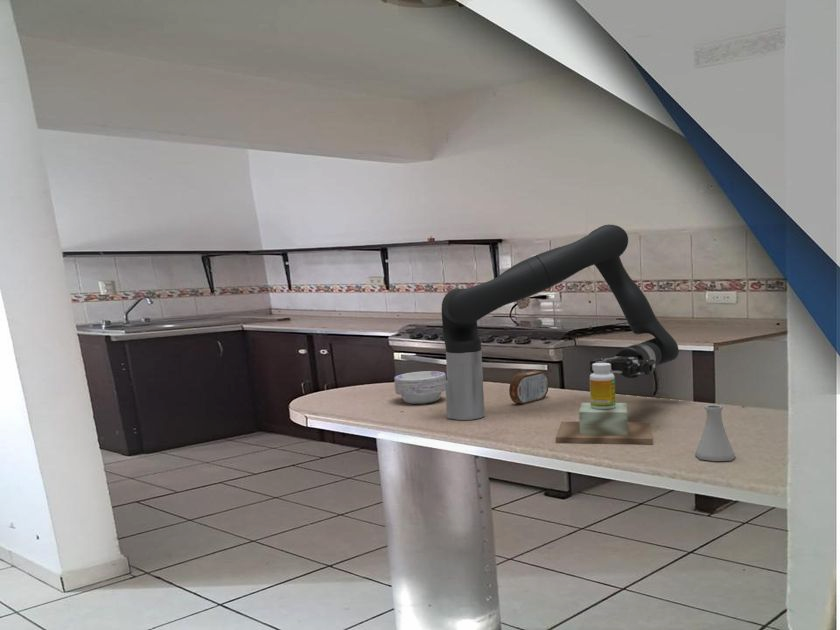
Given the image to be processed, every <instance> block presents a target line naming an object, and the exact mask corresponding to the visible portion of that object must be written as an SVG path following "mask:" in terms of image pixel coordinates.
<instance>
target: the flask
mask: <svg viewBox="0 0 840 630" xmlns="http://www.w3.org/2000/svg"><path fill="white" fill-rule="evenodd" d="M723 408H724V406H723V405H720V404H706V405H705V406H704V409H705V410H706V419H705V423H704V424H705V425H704V427H703V431H702V434H701V436H700V439H699V442H698V445H697V447H696V450H695V453H694V456H695V457H697V458H698V459H699V460H703V461H704V460H705V461H710V462H731V461H733V460H734V459H735V458H736V455H735V453H734V450H733V447H732V444H731V442H730V439H729V437H728V434H727V431H726V429H725V426H724V423H723V422H724V421H723V418H722V417H723V415H722V411H723Z"/></svg>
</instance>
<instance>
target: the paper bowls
mask: <svg viewBox="0 0 840 630" xmlns="http://www.w3.org/2000/svg"><path fill="white" fill-rule="evenodd" d="M393 378H394V390H395V394H397V395H400V396H401V398H402V400H403V401H404V402H405V403H407V404H412V405H413V404H414V405H422V404H423V405H424V404H430V403H431V404H432V403H434V402H437V401H438V400H440V397H441V394H442V393H443V392H444V391H445V392H446V388H445V382H446V381H447V373H445V372H443V371H436V370H428V371H427V370H426V371H425V370H424V371H422V370H421V371H412V372H406V373H403V374H402V373H401V374H399V375H395V376H394V377H393Z"/></svg>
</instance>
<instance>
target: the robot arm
mask: <svg viewBox="0 0 840 630" xmlns="http://www.w3.org/2000/svg"><path fill="white" fill-rule="evenodd" d="M628 245H629V235H628V233H627V231H626V230H625V229H624V228H623V227H620V226H619V225H617V224H616V225H615V224H605V225H602V226H600V227H597V228H596V229H594V230H591V232H589V234H587V235H585V236H584V237H582V238H580V239H577V240H576V241H573V242H572V243H568V244H566V245H562V246H558V247H554V248H553V249H549V250H547V251H543V252H540V253H538V254H534V255H533V256H530V257H528V258H526V259H524V260H522V261H520V262H518V263H516V264H514V265H512V266H510V267H509V268H508V269H507V270H505V271H503V272H502V273H501V274H500V275H498V276H497V277H494V278H493V279H491V280H488V281H486V282H483V283H480V284H477V285H473V286H471V287H467V288H454V289H451V290H450V291H448V292H447V293H445V295H444V297H443V298H442V302H441V323H442V325H441V326H442V334H443V341H444V345H445V363H446V382H445V388H446V390H445V403H446V404H445V405H446V418H447V419H452V420H457V421H470V420H471V421H472V420H477V419H481V418H484V417H485V394H484V377H483V375H484V374H483V358H482V357H483V355H482V340H481V338H480V335H479V331H478V321H479V320H481V319H482V318H485V317H486V316H487V315H489V314H491V313H493V312H495V311H497V310H498V309H500V308H502V307H504V306H506V305H509V304H512V303H515V302H518V301H521V300H524V299H526V298H529V297H531V296H534V295H536V294H538V293H541V292H543V291H546V290H548V289H550V288H553V286H556V285H558V284H561V283H562V282H563V281H566V280H567V279H569V278H571V277H573V276H574V275H575V274H577V273H579V272H580V271H582V270H584V269H586V268H589V267H592V266H595V268H596V269H597V270H598V272H599V273H600V275H601V276H602V277H603V280H604V281H605V282H606V284H607V285H608V287H609V289H610V290H611V293H612V294H613V296H614V297H615V300H616V301H617V304H618V305H619V307H620V310H621V311H622V313H623V315H624V317H625V319H626V321H627V323H628V325H629V328H630V330H631V331H632V334H635V335H642V334H649V335H651V336H653V337H654V338H651V339H648V340H645V341H642V342H640V343H636V344H632V345H628V346H625V347H623V348H621V349H619V351H617V353H616V354H615V355H614V357H609V358H608V357H607V358H604V357H598V358H594V359H592V360H589V362H588V363H589V372H590V373H591V374H592V373H594V371H593V369H592V364H594V363H610V364H611V370H610V373H612V374H615V373H616V374H619V375H621V377H623V378H626V379H635V378H638V377H640V376H641V375H646V376H647V375H650V374H653V373H654V372H655V371H656V368H657V366H660V365H663V364H665V363H669V362H672V361H674V360H676V359H677V358H678V357H679V345H678V343H677V342H676V340H675V338H673V336H672V335H671V334H670V333H669V332H668V331H667V330H666V329H665V327H664V326H663V325H662V324H661V323H660V321H659V320H658V318H657V315H655V313H654V311H653V308H652V305H651V304H650V302H649V300H648V299H647V297H646V295H645V293H644V292H643V291H642V289H640V287H639V286H638V285H637V284H636V282H634V280H633V279H632V278H631V276H630V275H629V274H628V272H627V270H626V268H625V267H624V264H623V262H622V260H621V256H622V255H623V254H624V252H625V251H626V249H627V247H628Z"/></svg>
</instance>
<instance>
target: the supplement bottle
mask: <svg viewBox="0 0 840 630" xmlns="http://www.w3.org/2000/svg"><path fill="white" fill-rule="evenodd" d="M592 369H593V371H594V373H592V372H591V374H590V375H589V397H590V401H589V403H591V407H592V408H595V409H612V408H615V406H616V403H617V402H616V380H615V379H616V376H615V374H614V373H610V370H612V369H611V364H610V363H594V364H592Z"/></svg>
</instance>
